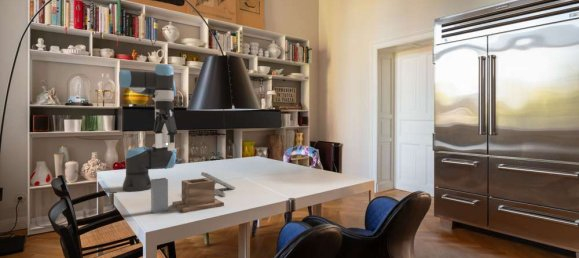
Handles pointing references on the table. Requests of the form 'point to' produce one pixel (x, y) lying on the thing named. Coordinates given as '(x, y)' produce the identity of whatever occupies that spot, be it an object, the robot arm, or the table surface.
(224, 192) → the door handle
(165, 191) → the steel bracket
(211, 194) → the brown wooden stand
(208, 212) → the table surface
